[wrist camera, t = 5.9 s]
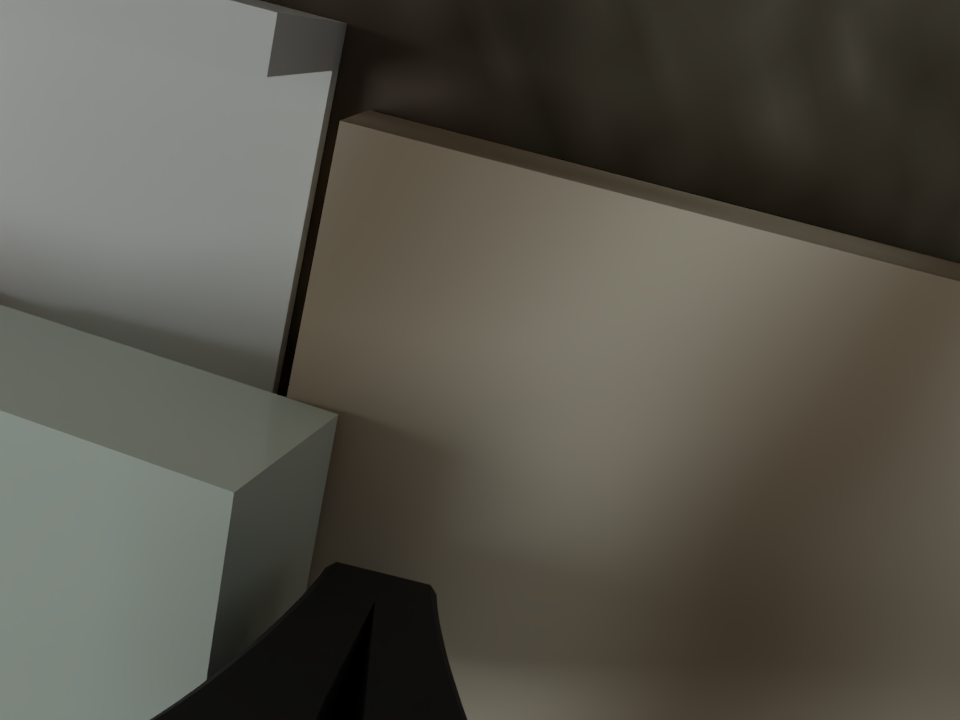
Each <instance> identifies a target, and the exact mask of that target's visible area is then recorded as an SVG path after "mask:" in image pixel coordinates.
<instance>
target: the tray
mask: <svg viewBox="0 0 960 720" xmlns="http://www.w3.org/2000/svg"><path fill="white" fill-rule="evenodd" d="M346 28H347V23H344V22H341V21H337V20H333V19H329V18H325V17H322V16H318V15H314V14H310V13H306V12H303V11H299V10H295V9H291V8H287V7H283V6H280V5H276V4H272V3H268V2H264V1H261V0H0V305H3V306H6V307H10V308H13V309H16V310H19V311H22V312H25V313H28V314H31V315H34V316H37V317H40V318H43V319H46V320H50V321H53V322H56V323H59V324H62V325H65V326H68V327H71V328H74V329H77V330H80V331H83V332H86V333H90V334H93V335H96V336H99V337H102V338H105V339H108V340H111V341H114V342H117V343H120V344H123V345H126V346H130V347H133V348H136V349H139V350H142V351H145V352H148V353H151V354H154V355H157V356H160V357H163V358H167V359H170V360H173V361H176V362H179V363H182V364H185V365H188V366H191V367H194V368H197V369H200V370H203V371H207V372H210V373H213V374H216V375H219V376H222V377H225V378H228V379H231V380H234V381H237V382H240V383H243V384H247V385H250V386H253V387H256V388H259V389H262V390H265V391H268V392H271V393H274V394H277V393H278V388H279V383H280V377H281V372H282V367H283V361H284V356H285V351H286V346H287V340H288V335H289V330H290V324H291V319H292V314H293V308H294V303H295V298H296V293H297V287H298V282H299V277H300V271H301V266H302V261H303V256H304V250H305V245H306V240H307V234H308V229H309V224H310V218H311V213H312V208H313V203H314V197H315V192H316V187H317V181H318V176H319V171H320V166H321V160H322V155H323V150H324V144H325V139H326V134H327V128H328V123H329V118H330V113H331V107H332V102H333V97H334V91H335V86H336V81H337V75H338V70H339V65H340V60H341V54H342V49H343V44H344V38H345V33H346Z"/></svg>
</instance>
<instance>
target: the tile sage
mask: <svg viewBox="0 0 960 720" xmlns="http://www.w3.org/2000/svg"><path fill="white" fill-rule="evenodd" d="M337 419H338V414H336V413H333V412H330V411H327V410H323V409H320V408H317V407H314V406H311V405H308V404H305V403H302V402H299V401H296V400H293V399H290V398H287V397H283V396H280V395H277V394H274V393H271V392H268V391H265V390H262V389H259V388H256V387H253V386H250V385H247V384H243V383H240V382H237V381H234V380H231V379H228V378H225V377H222V376H219V375H216V374H213V373H210V372H207V371H203V370H200V369H197V368H194V367H191V366H188V365H185V364H182V363H179V362H176V361H173V360H170V359H167V358H163V357H160V356H157V355H154V354H151V353H148V352H145V351H142V350H139V349H136V348H133V347H130V346H126V345H123V344H120V343H117V342H114V341H111V340H108V339H105V338H102V337H99V336H96V335H93V334H90V333H86V332H83V331H80V330H77V329H74V328H71V327H68V326H65V325H62V324H59V323H56V322H53V321H50V320H46V319H43V318H40V317H37V316H34V315H31V314H28V313H25V312H22V311H19V310H16V309H13V308H10V307H6V306H3V305H0V720H150V719H152V718H153V717H155V716H156V715H158V714H159V713H161V712H162V711H164V710H166V709H167V708H168V707H170V706H171V705H173V704H174V703H176V702H177V701H179V700H180V699H182V698H183V697H184V696H186V695H187V694H188V693H190V692H191V691H193V690H194V689H195V688H197V687H198V686H200V685H201V684H202V683H204V682H205V681H206V680H207V679H209V678H210V677H211V676H212V675H214V674H215V673H216V672H217V671H219V670H220V669H221V668H222V667H224V666H225V665H226V664H227V663H229V662H230V661H231V660H232V659H234V658H235V657H236V656H238V655H239V654H240V653H241V652H242V651H244V650H245V649H246V648H247V647H248V646H250V645H251V644H252V643H253V642H254V641H255V640H256V639H257V638H258V637H259V636H261V635H262V634H263V633H264V632H265V631H266V630H267V629H268V628H269V627H270V626H271V625H273V624H274V623H275V622H276V621H277V620H278V619H279V618H280V617H281V616H282V615H283V614H284V613H285V612H286V611H287V610H288V609H289V608H290V607H291V606H292V605H293V604H294V603H295V602H296V601H297V600H298V599H299V598H300V597H301V596H302V595H303V594H304V593H305V592H306V588H307V583H308V577H309V572H310V566H311V561H312V555H313V550H314V544H315V539H316V534H317V528H318V523H319V517H320V512H321V506H322V501H323V495H324V490H325V484H326V479H327V474H328V468H329V463H330V457H331V452H332V446H333V441H334V435H335V430H336V424H337Z"/></svg>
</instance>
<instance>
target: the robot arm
mask: <svg viewBox="0 0 960 720" xmlns="http://www.w3.org/2000/svg"><path fill="white" fill-rule="evenodd" d="M150 720H467V717H466V714H465V712H464V709H463V706H462V703H461V700H460V697H459V693H458V690H457V687H456V684H455V681H454V678H453V674H452V671H451V668H450V664H449V661H448V657H447V653H446V649H445V645H444V640H443V636H442V631H441V626H440V621H439V615H438V607H437V594H436V593H435V591H434V589H433V588H432V586H431V585H429V584H425V583H421V582H417V581H413V580H409V579H405V578H401V577H397V576H393V575H388V574H384V573H380V572H376V571H372V570H368V569H364V568H360V567H356V566H352V565H348V564H343V563H339V562H335V563H333V564H331V565H329V566H327V567H325V569H324V570H323V572H322V573H321V574H320V576H319V577H318V578H317V579H316V580H315V582H314V583H313V584H312V585H311V586H310V587H309V589H308V590H307V591H306V592H305V593H304V594H303V595H302V596H301V597H300V598H299V599H298V600H297V601H296V602H295V603H294V604H293V605H292V606H291V607H290V608H289V609H288V610H287V611H286V612H285V613H284V614H283V615H282V616H281V617H280V618H279V619H278V620H277V621H276V622H275V623H274V624H273V625H271V626H270V627H269V628H268V629H267V630H266V631H265V632H264V633H263V634H262V635H261V636H259V637H258V638H257V639H256V640H255V641H254V642H253V643H252V644H251V645H250V646H248V647H247V648H246V649H245V650H244V651H242V652H241V653H240V654H239V655H238V656H236V657H235V658H234V659H232V660H231V661H230V662H229V663H227V664H226V665H225V666H224V667H222V668H221V669H220V670H219V671H217V672H216V673H215V674H214V675H212V676H211V677H210V678H209V679H207V680H206V681H205V682H204V683H202V684H201V685H200V686H198V687H197V688H195V689H194V690H193V691H191V692H190V693H188V694H187V695H186V696H184V697H183V698H182V699H180V700H179V701H177V702H176V703H174V704H173V705H171V706H170V707H168V708H167V709H166V710H164V711H162V712H161V713H159V714H158V715H156V716H155V717H153V718H152V719H150Z"/></svg>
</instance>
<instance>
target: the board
mask: <svg viewBox="0 0 960 720" xmlns="http://www.w3.org/2000/svg"><path fill="white" fill-rule="evenodd" d="M287 398H290V399H293V400H296V401H299V402H302V403H305V404H308V405H311V406H314V407H317V408H320V409H323V410H327V411H330V412H333V413H336V414H338V419H337V424H336V430H335V435H334V441H333V446H332V452H331V457H330V463H329V468H328V474H327V479H326V484H325V490H324V495H323V501H322V506H321V512H320V517H319V523H318V528H317V534H316V539H315V544H314V550H313V555H312V561H311V566H310V572H309V577H308V583H307V588H306V591H307V590H308V589H309V587H310V586H311V585H312V584H313V583H314V582H315V580H316V579H317V578H318V577H319V576H320V574H321V573H322V572H323V570H324V569H325V567H327V566H329V565H331V564H333V563H335V562H339V563H343V564H348V565H352V566H356V567H360V568H364V569H368V570H372V571H376V572H380V573H384V574H388V575H393V576H397V577H401V578H405V579H409V580H413V581H417V582H421V583H425V584H429V585H431V586H432V588H433V589H434V591H435V593H436V594H437V607H438V615H439V621H440V626H441V631H442V636H443V640H444V645H445V649H446V653H447V657H448V661H449V664H450V668H451V671H452V674H453V678H454V681H455V684H456V687H457V690H458V693H459V697H460V700H461V703H462V706H463V709H464V712H465V714H466V717H467V720H960V264H959V263H955V262H951V261H948V260H944V259H940V258H936V257H932V256H928V255H924V254H921V253H917V252H913V251H909V250H905V249H901V248H898V247H894V246H890V245H886V244H882V243H878V242H875V241H871V240H867V239H863V238H859V237H855V236H851V235H848V234H844V233H840V232H836V231H832V230H828V229H825V228H821V227H817V226H813V225H809V224H805V223H802V222H798V221H794V220H790V219H786V218H782V217H778V216H775V215H771V214H767V213H763V212H759V211H755V210H752V209H748V208H744V207H740V206H736V205H732V204H729V203H725V202H721V201H717V200H713V199H709V198H705V197H702V196H698V195H694V194H690V193H686V192H682V191H679V190H675V189H671V188H667V187H663V186H659V185H656V184H652V183H648V182H644V181H640V180H636V179H632V178H629V177H625V176H621V175H617V174H613V173H609V172H606V171H602V170H598V169H594V168H590V167H586V166H583V165H579V164H575V163H571V162H567V161H563V160H560V159H556V158H552V157H548V156H544V155H540V154H536V153H533V152H529V151H525V150H521V149H517V148H513V147H510V146H506V145H502V144H498V143H494V142H490V141H487V140H483V139H479V138H475V137H471V136H467V135H463V134H460V133H456V132H452V131H448V130H444V129H440V128H437V127H433V126H429V125H425V124H421V123H417V122H414V121H410V120H406V119H402V118H398V117H394V116H390V115H387V114H383V113H379V112H375V111H371V110H368V111H365V112H362V113H359V114H357V115H354V116H351V117H348V118H346V119H343V120H340V122H339V128H338V133H337V138H336V143H335V148H334V154H333V159H332V164H331V169H330V174H329V180H328V185H327V190H326V195H325V200H324V206H323V211H322V216H321V221H320V226H319V231H318V237H317V242H316V247H315V252H314V257H313V263H312V268H311V273H310V278H309V283H308V289H307V294H306V299H305V304H304V309H303V315H302V320H301V325H300V330H299V335H298V340H297V346H296V351H295V356H294V361H293V366H292V372H291V377H290V382H289V387H288V392H287Z"/></svg>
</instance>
